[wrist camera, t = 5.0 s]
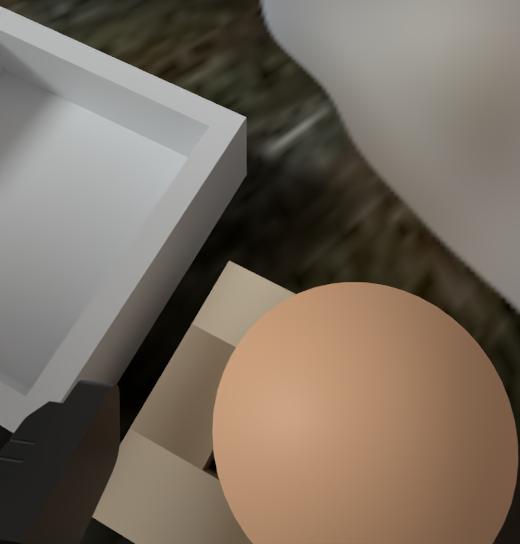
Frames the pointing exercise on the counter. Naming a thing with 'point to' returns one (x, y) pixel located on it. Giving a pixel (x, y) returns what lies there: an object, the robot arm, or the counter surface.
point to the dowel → (363, 424)
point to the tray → (96, 208)
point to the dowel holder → (186, 428)
